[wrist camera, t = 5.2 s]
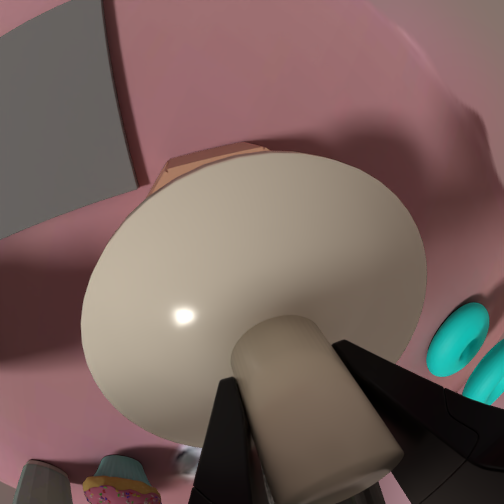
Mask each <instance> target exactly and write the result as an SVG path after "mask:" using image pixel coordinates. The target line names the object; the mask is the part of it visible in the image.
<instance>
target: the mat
mask: <svg viewBox="0 0 504 504" xmlns="http://www.w3.org/2000/svg"><path fill="white" fill-rule="evenodd" d="M138 187H139V186H138V182H137V179H136V175H135V171H134V167H133V163H132V160H131V156H130V152H129V148H128V144H127V139H126V135H125V131H124V126H123V122H122V117H121V113H120V108H119V103H118V98H117V93H116V88H115V83H114V78H113V72H112V66H111V60H110V54H109V48H108V41H107V34H106V26H105V18H104V9H103V0H71V1H69V2H66V3H64V4H62V5H59V6H57V7H55V8H53V9H51V10H49V11H47V12H45V13H42V14H41V15H39V16H37V17H35V18H33V19H31V20H29V21H27V22H25V23H23V24H22V25H20V26H18V27H16V28H15V29H13V30H11V31H10V32H8V33H6V34H5V35H3V36H2V37H0V240H1V239H3V238H5V237H8V236H10V235H12V234H14V233H17V232H19V231H21V230H24V229H26V228H29V227H31V226H34V225H36V224H39V223H41V222H44V221H46V220H49V219H51V218H54V217H57V216H59V215H62V214H65V213H67V212H70V211H73V210H75V209H78V208H81V207H84V206H87V205H90V204H93V203H95V202H98V201H101V200H104V199H107V198H110V197H114V196H117V195H120V194H123V193H126V192H129V191H133V190H136V189H138Z"/></svg>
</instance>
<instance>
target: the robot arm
mask: <svg viewBox="0 0 504 504" xmlns="http://www.w3.org/2000/svg"><path fill="white" fill-rule="evenodd" d="M331 346H332V347H333V349H334V350H335V351H336V353H337V354H338V356H339V357H340V359H341V360H342V362H343V363H344V364H345V366H346V367H347V369H348V370H349V372H350V373H351V375H352V376H353V378H354V379H355V381H356V382H357V383H358V385H359V386H360V388H361V389H362V391H363V392H364V394H365V395H366V397H367V398H368V400H369V401H370V402H371V404H372V405H373V407H374V408H375V410H376V411H377V413H378V414H379V416H380V417H381V419H382V420H383V422H384V423H385V425H386V426H387V428H388V429H389V431H390V432H391V434H392V435H393V437H394V438H395V439H396V441H397V442H398V444H399V445H400V447H401V448H402V450H403V451H404V456H403V458H402V460H401V461H400V462H399V464H398V465H397V466H396V467H395V468H394V469H393V470H392V471H391V472H392V474H393V475H394V477H395V479H396V480H397V482H398V483H399V485H400V486H401V488H402V489H403V491H404V493H405V494H406V496H407V497H408V499H409V501H410V502H411V504H504V409H501V408H498V407H494V406H491V405H488V404H484V403H481V402H479V401H476V400H473V399H470V398H467V397H465V396H463V395H460V394H458V393H456V392H453V391H451V390H449V389H447V388H443V387H442V386H440V385H438V384H436V383H434V382H432V381H429V380H427V379H425V378H423V377H421V376H419V375H417V374H415V373H413V372H411V371H408V370H406V369H404V368H402V367H400V366H398V365H396V364H394V363H392V362H390V361H388V360H386V359H384V358H382V357H380V356H378V355H376V354H374V353H372V352H370V351H368V350H366V349H364V348H362V347H360V346H358V345H356V344H354V343H352V342H350V341H348V340H345V339H343V340H340V341H337V342H335V343H333V344H332V345H331ZM193 486H194V487H193V488H192V491H191V495H190V499H189V502H188V504H269V503H268V498H267V493H266V488H265V483H264V478H263V473H262V468H261V463H260V460H259V457H258V454H257V451H256V447H255V444H254V441H253V438H252V435H251V432H250V428H249V425H248V421H247V417H246V414H245V410H244V407H243V404H242V400H241V397H240V393H239V390H238V387H237V383H236V380H235V378H234V377H232V376H231V377H228V378H224V379H221V380H220V381H219V384H218V388H217V392H216V396H215V400H214V404H213V407H212V411H211V415H210V419H209V423H208V427H207V431H206V435H205V439H204V443H203V447H202V451H201V455H200V459H199V463H198V467H197V471H196V475H195V479H194V483H193Z"/></svg>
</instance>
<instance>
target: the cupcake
mask: <svg viewBox="0 0 504 504" xmlns="http://www.w3.org/2000/svg"><path fill="white" fill-rule="evenodd" d="M83 490H84V493H85V494H84V495H85V496H86V497H87V501H88V502H90V503H91V504H162V503H161V496H160V494H159V492H158V491H157V489H156V488H154V487H152V486H151V485H150V483H149V481H148V479H147V477H146V475H145V472H144V470H143V467H142V465H141V463H140V462H138V461H137V460H135V459H132V458H129V457H126V456H120V455H110V456H106V457H104V458H103V459H102V460H101V463H100V465H99V468H98V470H97V472H96V473H95V474H94V476H90V477H87V478H86V480H85V481H84V482H83Z"/></svg>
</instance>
